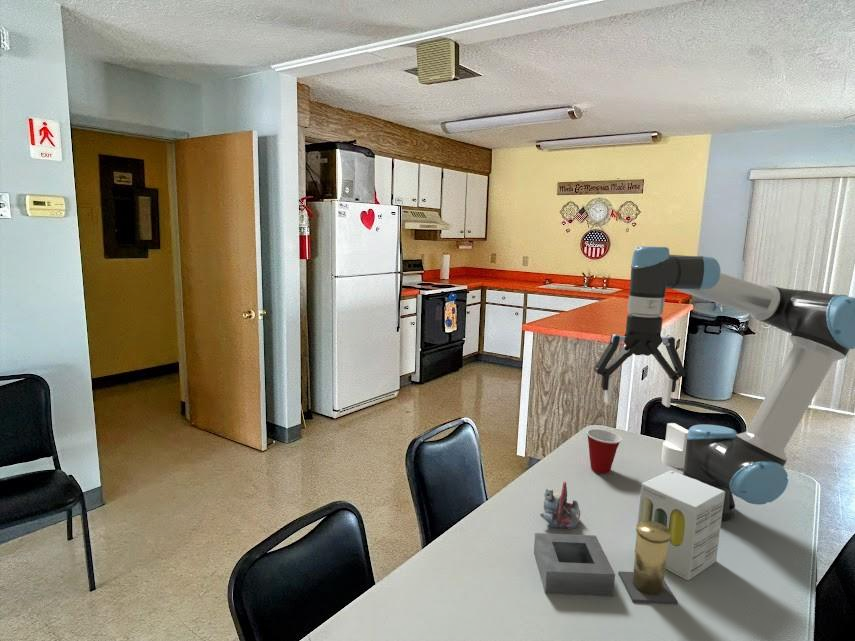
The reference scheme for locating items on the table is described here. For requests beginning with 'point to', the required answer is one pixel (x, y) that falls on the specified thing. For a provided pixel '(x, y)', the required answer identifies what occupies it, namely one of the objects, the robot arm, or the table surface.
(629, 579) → the mat
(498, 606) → the table surface
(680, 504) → the supplement box
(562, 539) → the housing
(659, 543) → the end cover
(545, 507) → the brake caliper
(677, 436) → the cylinder with rectangular tab
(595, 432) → the plastic cup
